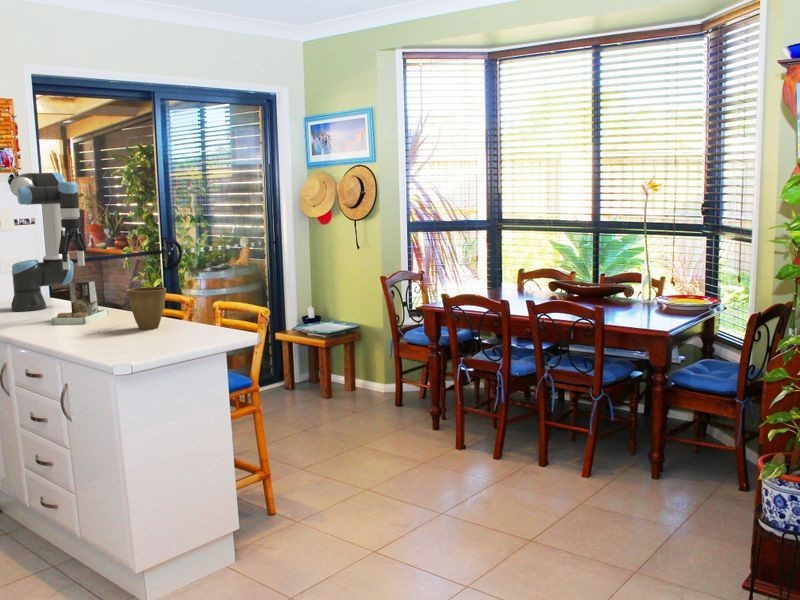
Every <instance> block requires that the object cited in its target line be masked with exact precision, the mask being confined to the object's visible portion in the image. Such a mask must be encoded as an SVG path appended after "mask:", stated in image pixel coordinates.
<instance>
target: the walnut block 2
mask: <svg viewBox="0 0 800 600" xmlns="http://www.w3.org/2000/svg"><path fill="white" fill-rule="evenodd" d="M87 316H88V314H87V313H82V312H79V313H75V314H73V318H84V317H87Z"/></svg>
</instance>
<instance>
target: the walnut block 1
mask: <svg viewBox="0 0 800 600" xmlns="http://www.w3.org/2000/svg"><path fill="white" fill-rule="evenodd" d="M56 317H57V318H71V315H70V312H59V313H57V316H56Z"/></svg>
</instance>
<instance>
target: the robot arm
mask: <svg viewBox="0 0 800 600" xmlns="http://www.w3.org/2000/svg"><path fill="white" fill-rule="evenodd" d="M9 189H10V192H11V193H12V194H13V195H14V196H16V197H17V203H18V204H19V205H27V206H28V205H41V209H42V222H43V233H44V247H45V254H44V256H43V257H42V261H41V262H40V261H39V260H38V259H28V260H23V261H18V262H15V263H14V264H12V266H11V275H12V285H13V297H12V302H11V305H10V308H11V311H12V312H29V311H30V312H31V311H32V310H33V311H40V310H45V309H47V303H46V299H45V298H44V296H43V294H42V289H41V287H49V286H50V287H51V286H63V285H69V283H71V282H73V276H74V262H73V261H72V260H70V254H69V250H70V247H71V244H72V242H73V243H74V245H75V246H76V249H77V250H76V255H77V257H76V258H77V266H78V267H82V266H83V267H85V265H86V264H85V251H87V244H86V242H85V239H84V235H83V232H82V231H83V230H82V228H80V227H81V219H80V218H81V215H80V205H79V204H80V203H79V187H78V184H77V182H76V181H66V179H65V177H64V176H63V174H62V173H58V172H28V173H27V172H26V173H22V174H19V175H17V176H15V177H13V178H12V179H11V181H10V184H9ZM44 308H45V309H44ZM39 309H40V310H39Z"/></svg>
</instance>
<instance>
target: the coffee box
mask: <svg viewBox="0 0 800 600" xmlns="http://www.w3.org/2000/svg"><path fill="white" fill-rule="evenodd" d="M96 281H97V280H75V281H71V283H69V284H68V285H69V293H70V294H69V295H70V305H71V312H72V318H73V314H75V313H79V312H82V313H87V314H88V316H90V315H93V314H96V313H98V310H99V305H98V295H97V293H98V291H97V283H96Z"/></svg>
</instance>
